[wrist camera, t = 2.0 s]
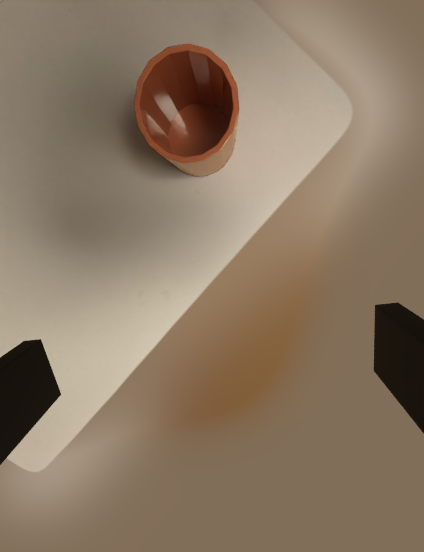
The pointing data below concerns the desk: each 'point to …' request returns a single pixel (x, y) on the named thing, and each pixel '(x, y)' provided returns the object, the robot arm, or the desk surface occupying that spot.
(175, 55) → the cup
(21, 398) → the robot arm
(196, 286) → the desk surface
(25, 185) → the desk surface
